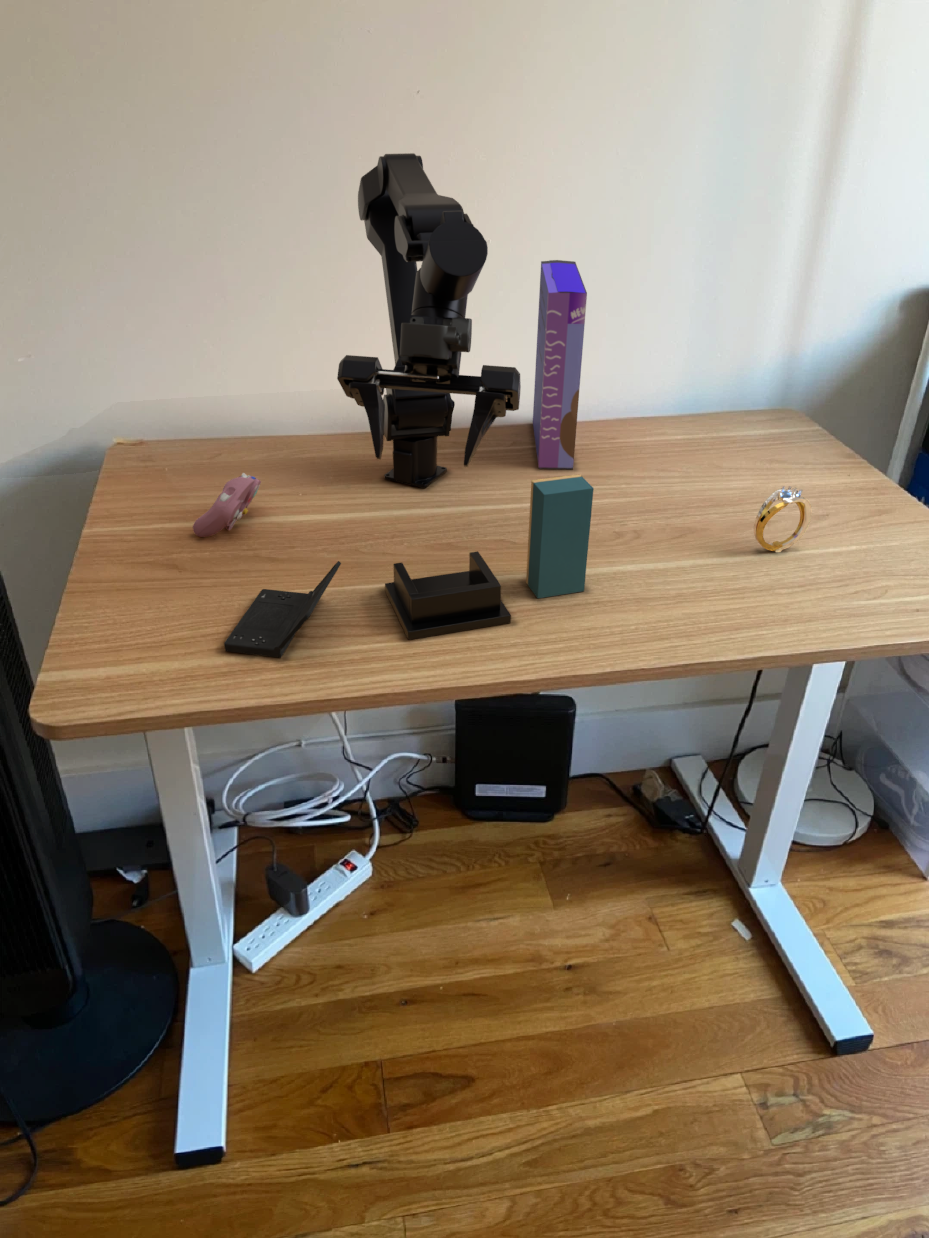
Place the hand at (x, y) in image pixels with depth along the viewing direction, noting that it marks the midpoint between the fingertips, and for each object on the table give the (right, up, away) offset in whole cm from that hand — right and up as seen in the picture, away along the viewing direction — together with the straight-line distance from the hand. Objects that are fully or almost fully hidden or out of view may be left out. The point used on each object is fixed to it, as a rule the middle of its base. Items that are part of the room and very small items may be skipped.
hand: (421, 462), depth 98 cm
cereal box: (+17, +9, +40) cm, 45 cm away
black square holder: (+3, -15, +3) cm, 15 cm away
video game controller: (-24, -5, +19) cm, 31 cm away
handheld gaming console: (-14, -17, -1) cm, 22 cm away
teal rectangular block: (+14, -13, +6) cm, 20 cm away
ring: (+41, -8, +14) cm, 44 cm away
